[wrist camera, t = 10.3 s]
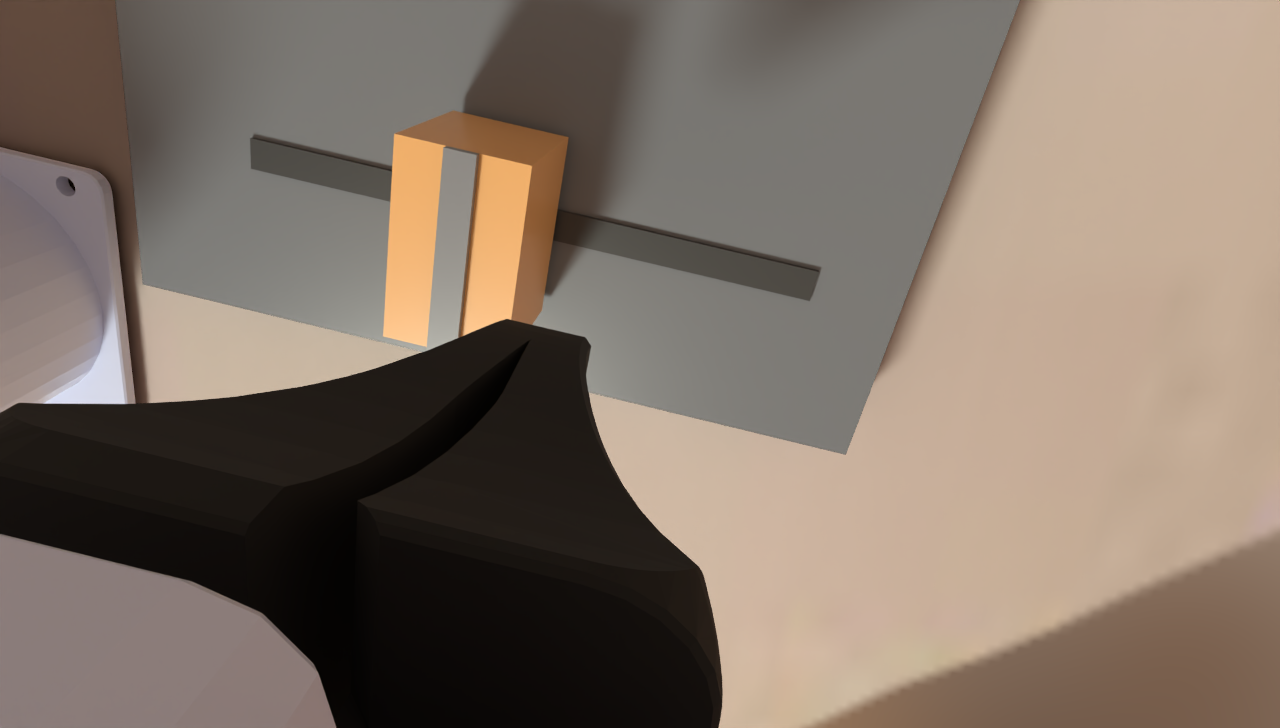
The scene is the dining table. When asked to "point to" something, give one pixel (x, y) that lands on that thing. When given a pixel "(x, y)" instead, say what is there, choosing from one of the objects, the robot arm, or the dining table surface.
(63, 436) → the robot arm
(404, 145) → the block
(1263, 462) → the dining table surface
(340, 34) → the console
